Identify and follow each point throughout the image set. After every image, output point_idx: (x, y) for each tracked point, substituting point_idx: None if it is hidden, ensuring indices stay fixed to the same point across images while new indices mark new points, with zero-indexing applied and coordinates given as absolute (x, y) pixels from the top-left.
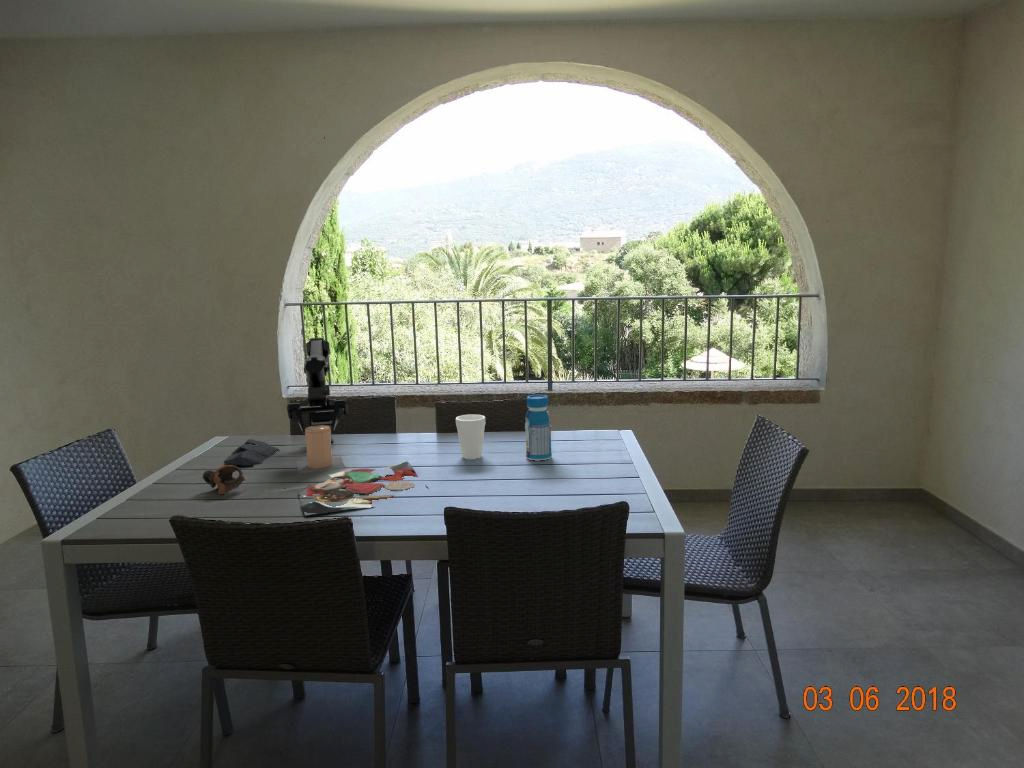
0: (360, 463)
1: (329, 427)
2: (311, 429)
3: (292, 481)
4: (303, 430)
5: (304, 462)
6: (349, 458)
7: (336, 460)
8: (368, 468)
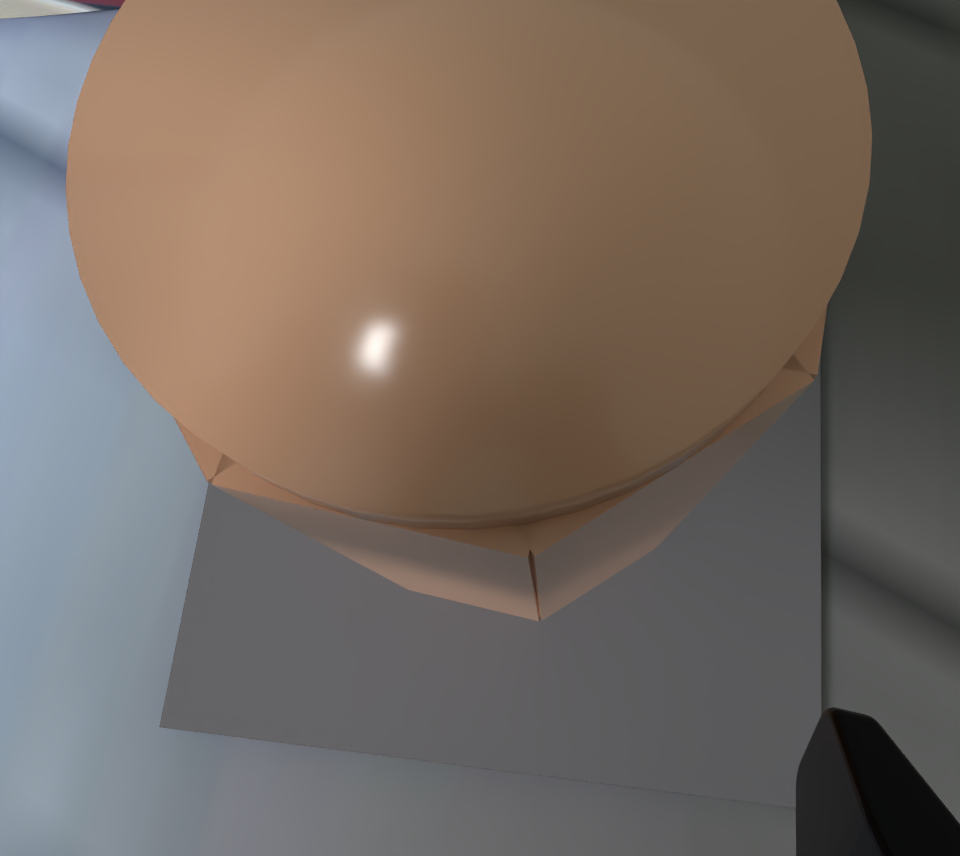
0: (49, 350)
1: (109, 37)
2: (672, 3)
3: (897, 37)
4: (857, 732)
5: (699, 708)
6: (67, 667)
7: (266, 555)
8: (82, 11)
